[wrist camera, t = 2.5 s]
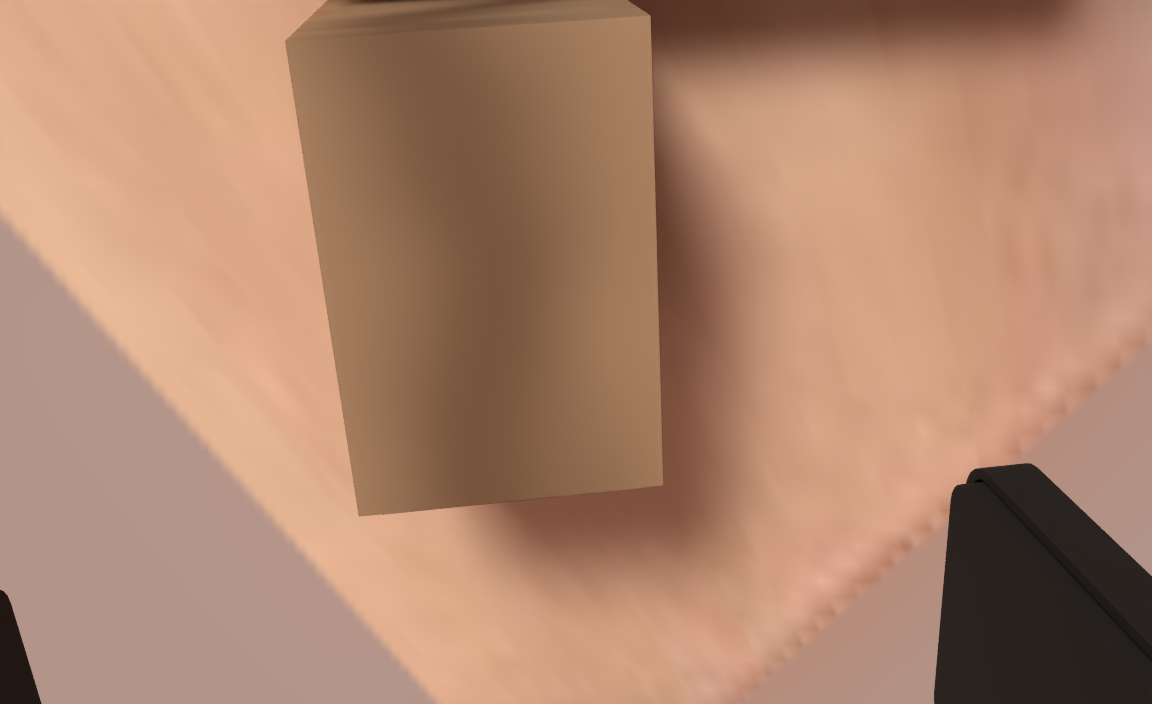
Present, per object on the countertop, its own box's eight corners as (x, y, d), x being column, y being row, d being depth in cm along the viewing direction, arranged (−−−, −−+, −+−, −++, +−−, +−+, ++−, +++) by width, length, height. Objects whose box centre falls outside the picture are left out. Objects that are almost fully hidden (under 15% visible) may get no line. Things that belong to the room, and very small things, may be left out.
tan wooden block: (593, -23, 26) (650, 15, 18) (611, 360, 30) (664, 517, 22) (333, -5, 25) (285, 40, 18) (385, 381, 29) (363, 549, 22)
